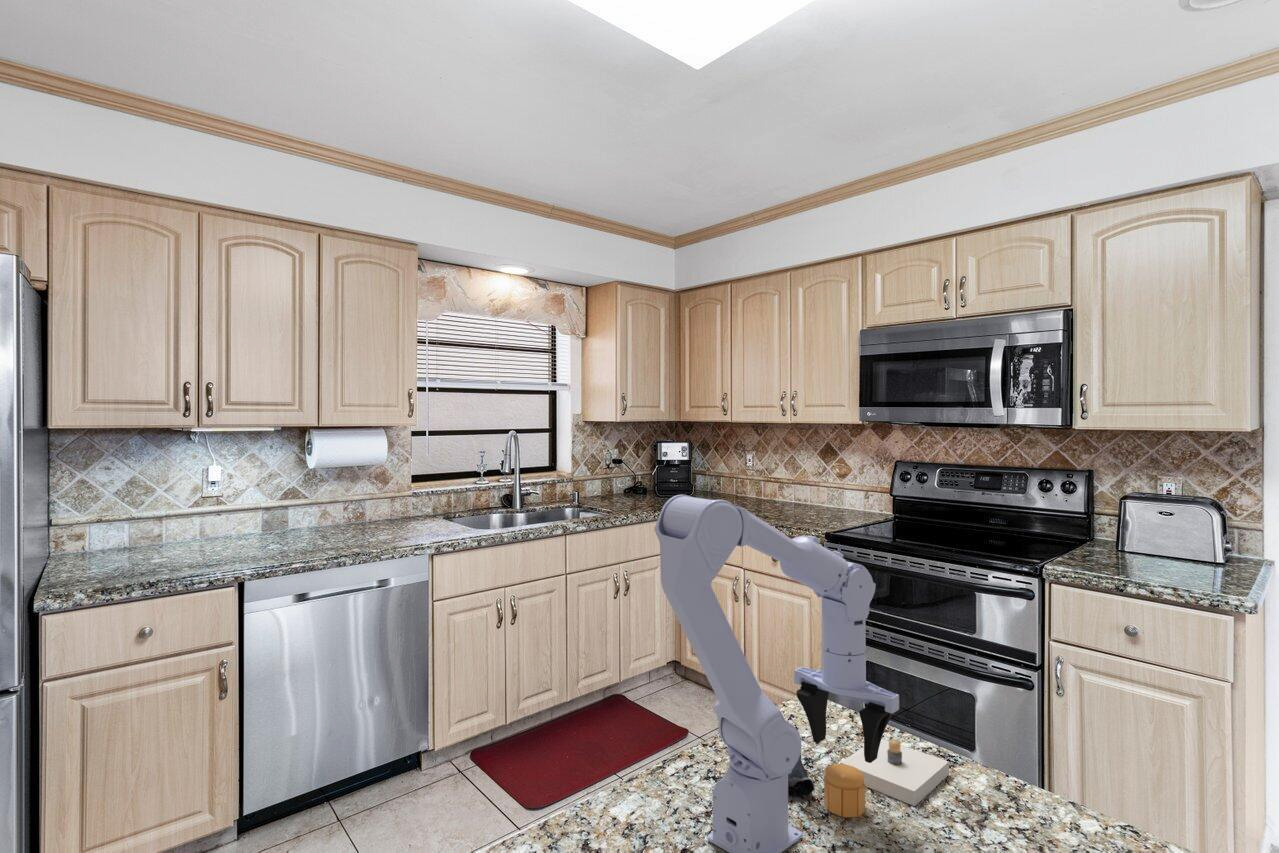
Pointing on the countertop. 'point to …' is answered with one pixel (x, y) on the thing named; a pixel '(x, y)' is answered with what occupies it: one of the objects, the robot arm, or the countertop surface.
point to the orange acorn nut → (844, 790)
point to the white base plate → (900, 771)
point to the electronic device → (800, 780)
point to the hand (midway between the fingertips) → (844, 749)
